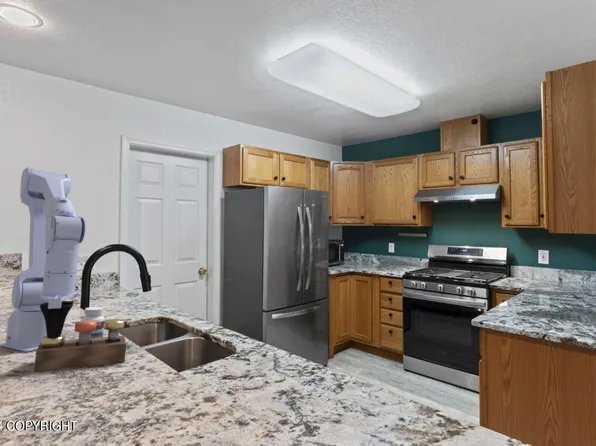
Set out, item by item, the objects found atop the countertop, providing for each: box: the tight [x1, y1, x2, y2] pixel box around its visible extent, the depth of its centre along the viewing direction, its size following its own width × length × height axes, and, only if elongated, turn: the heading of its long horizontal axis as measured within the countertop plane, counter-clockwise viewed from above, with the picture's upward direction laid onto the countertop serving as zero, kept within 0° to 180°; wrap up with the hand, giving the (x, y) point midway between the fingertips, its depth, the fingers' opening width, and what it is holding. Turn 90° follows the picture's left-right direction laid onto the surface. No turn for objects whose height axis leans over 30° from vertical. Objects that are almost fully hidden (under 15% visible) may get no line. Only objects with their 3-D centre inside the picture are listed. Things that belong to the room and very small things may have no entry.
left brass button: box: [41, 334, 66, 348], centre depth 72 cm, size 4×4×5 cm
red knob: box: [74, 320, 97, 345], centre depth 75 cm, size 4×4×5 cm
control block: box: [33, 335, 127, 373], centre depth 74 cm, size 16×7×4 cm, turn 121°
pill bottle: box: [80, 306, 106, 338], centre depth 87 cm, size 5×5×9 cm
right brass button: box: [104, 318, 125, 343], centre depth 77 cm, size 4×4×5 cm
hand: (53, 337), depth 72 cm, fingers closed, pressing on left brass button
